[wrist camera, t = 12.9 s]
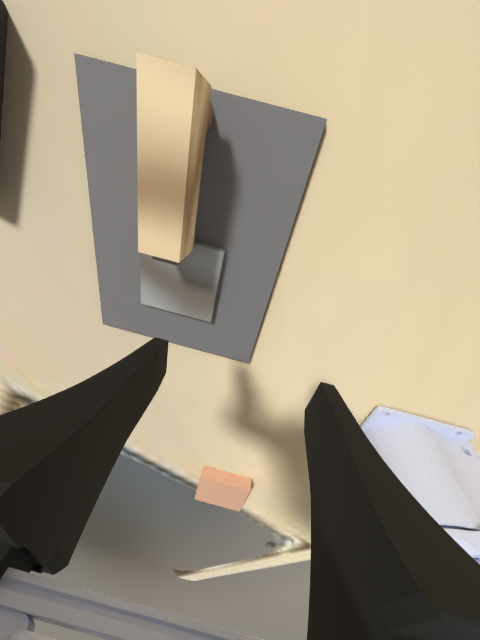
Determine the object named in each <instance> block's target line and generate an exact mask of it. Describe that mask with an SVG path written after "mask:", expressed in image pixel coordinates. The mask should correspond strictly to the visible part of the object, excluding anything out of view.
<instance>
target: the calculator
mask: <svg viewBox="0 0 480 640" xmlns="http://www.w3.org/2000/svg"><path fill="white" fill-rule="evenodd" d="M6 36H7V9H6V6H5V4H4V3H3V1H2V0H0V138H1V121H2V104H3V87H4V70H5V53H6Z"/></svg>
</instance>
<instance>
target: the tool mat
mask: <svg viewBox="0 0 480 640" xmlns="http://www.w3.org/2000/svg"><path fill="white" fill-rule="evenodd" d="M74 56H75V65H76V74H77V84H78V93H79V103H80V112H81V122H82V131H83V140H84V150H85V159H86V169H87V178H88V187H89V197H90V206H91V216H92V225H93V235H94V244H95V253H96V263H97V272H98V282H99V291H100V301H101V310H102V319H103V324H105V325H108V326H112V327H116V328H119V329H123V330H127V331H130V332H134V333H138V334H141V335H145V336H149V337H153V338H155V337H157V338H160V339H164V340H168V342H171V343H175V344H178V345H182V346H186V347H189V348H193V349H197V350H201V351H204V352H208V353H212V354H215V355H219V356H223V357H226V358H230V359H234V360H237V361H241V362H245V363H248V362H249V359H250V356H251V353H252V350H253V347H254V344H255V341H256V338H257V335H258V331H259V328H260V325H261V322H262V319H263V316H264V313H265V310H266V307H267V304H268V301H269V297H270V294H271V291H272V288H273V285H274V282H275V279H276V276H277V273H278V270H279V266H280V263H281V260H282V257H283V254H284V251H285V248H286V245H287V242H288V239H289V235H290V232H291V229H292V226H293V223H294V220H295V217H296V214H297V211H298V208H299V204H300V201H301V198H302V195H303V192H304V189H305V186H306V183H307V180H308V177H309V173H310V170H311V167H312V164H313V161H314V158H315V155H316V152H317V149H318V146H319V142H320V139H321V136H322V133H323V130H324V127H325V124H326V121H327V119H325V118H321V117H317V116H313V115H309V114H305V113H302V112H298V111H294V110H290V109H286V108H282V107H279V106H275V105H271V104H267V103H263V102H259V101H256V100H252V99H248V98H244V97H240V96H236V95H233V94H229V93H225V92H221V91H217V90H213V89H211V93H210V101H211V103H212V106H213V109H214V122H213V125H212V128H211V129H210V131H209V132H208V133H207V134H206V137H205V146H204V155H203V163H202V172H201V181H200V190H199V198H198V207H197V216H196V225H195V233H194V234H195V242H198V243H202V244H206V245H210V246H213V247H217V248H221V249H225V255H224V260H223V266H222V271H221V276H220V282H219V287H218V292H217V298H216V303H215V308H214V314H213V319H212V321H211V322H207V321H204V320H200V319H196V318H193V317H189V316H185V315H181V314H178V313H174V312H170V311H167V310H163V309H159V308H155V307H152V306H148V305H144V304H141V253H140V252H138V183H137V72H136V69H133V68H129V67H125V66H121V65H117V64H114V63H110V62H106V61H102V60H98V59H94V58H91V57H87V56H83V55H79V54H75V53H74Z"/></svg>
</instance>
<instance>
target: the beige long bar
mask: <svg viewBox="0 0 480 640" xmlns="http://www.w3.org/2000/svg"><path fill="white" fill-rule="evenodd" d="M136 72H137V183H138V252H140V253H141V304H144V305H148V306H152V307H155V308H159V309H163V310H167V311H170V312H174V313H178V314H181V315H185V316H189V317H193V318H196V319H200V320H204V321H207V322H211V321H212V319H213V314H214V308H215V303H216V298H217V292H218V287H219V282H220V276H221V271H222V266H223V260H224V255H225V249H221V248H217V247H213V246H210V245H206V244H202V243H198V242H195V234H194V233H195V225H196V216H197V207H198V198H199V190H200V181H201V172H202V163H203V155H204V146H205V137H206V134H207V133H208V132H209V131H210V129H211V128H212V125H213V122H214V109H213V106H212V103H211V101H210V93H211V85H210V84H209V83H208V82H207V80H206V79H205V78H204V77H203V76H202V75H201V73H200V72H199V71H198V70H197V69H196V68H194V67H190V66H186V65H182V64H178V63H175V62H171V61H167V60H163V59H159V58H155V57H152V56H148V55H144V54H140V53H136Z"/></svg>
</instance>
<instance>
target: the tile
mask: <svg viewBox="0 0 480 640" xmlns="http://www.w3.org/2000/svg"><path fill="white" fill-rule="evenodd" d="M251 481H252V478H248V477H244V476H241V475H237V474H233V473H230V472H226V471H223V470H219V469H215V468H212V467H208V466H203V469H202V473H201V477H200V481H199V484H198V488H197V492H196V495H195V499H196V500H199V501H203V502H207V503H210V504H214V505H218V506H222V507H225V508H229V509H232V510H236V511H239V512H240V510H241V508H242V506H243V504H244V502H245V500H246V498H247V497H248V495H249V493H250V491H251Z"/></svg>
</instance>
